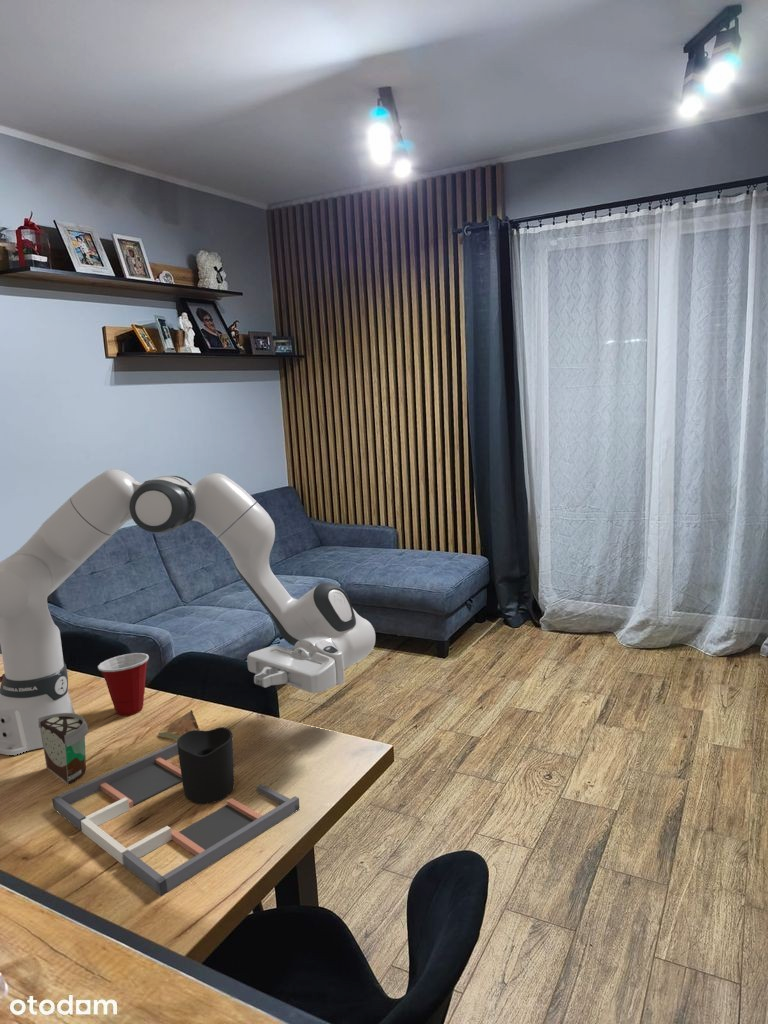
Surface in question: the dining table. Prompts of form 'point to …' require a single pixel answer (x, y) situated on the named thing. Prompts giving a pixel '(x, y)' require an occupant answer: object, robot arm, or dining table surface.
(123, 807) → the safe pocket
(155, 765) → the box
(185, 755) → the pen holder
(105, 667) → the plastic cup
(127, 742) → the dining table surface
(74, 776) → the food container
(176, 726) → the shard
